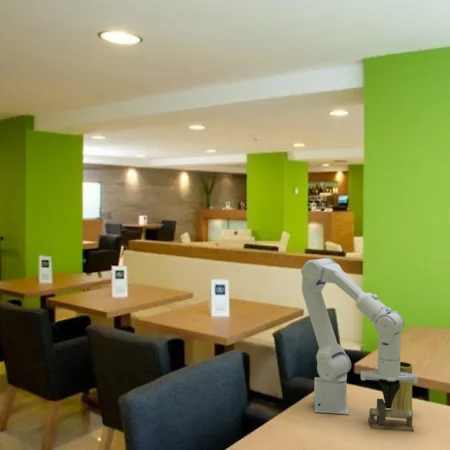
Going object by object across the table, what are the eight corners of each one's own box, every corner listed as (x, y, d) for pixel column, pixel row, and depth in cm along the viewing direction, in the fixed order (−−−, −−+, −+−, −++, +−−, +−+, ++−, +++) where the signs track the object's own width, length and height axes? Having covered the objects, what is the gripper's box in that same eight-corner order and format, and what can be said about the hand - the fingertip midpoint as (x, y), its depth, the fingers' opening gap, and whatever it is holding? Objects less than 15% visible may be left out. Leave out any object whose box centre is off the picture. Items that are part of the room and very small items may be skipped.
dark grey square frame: (379, 424, 132) (379, 404, 132) (376, 417, 137) (376, 398, 137) (385, 424, 132) (385, 405, 132) (382, 417, 137) (382, 398, 136)
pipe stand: (370, 428, 132) (370, 411, 132) (368, 420, 137) (368, 404, 137) (413, 431, 131) (414, 414, 131) (409, 423, 136) (409, 407, 136)
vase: (409, 409, 145) (410, 361, 144) (415, 418, 139) (416, 368, 138) (388, 408, 146) (389, 360, 145) (393, 417, 140) (394, 367, 139)
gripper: (363, 360, 131) (362, 411, 131) (420, 363, 128) (419, 415, 129) (360, 352, 138) (359, 400, 138) (414, 355, 135) (413, 404, 136)
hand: (388, 407), depth 134 cm, fingers closed
